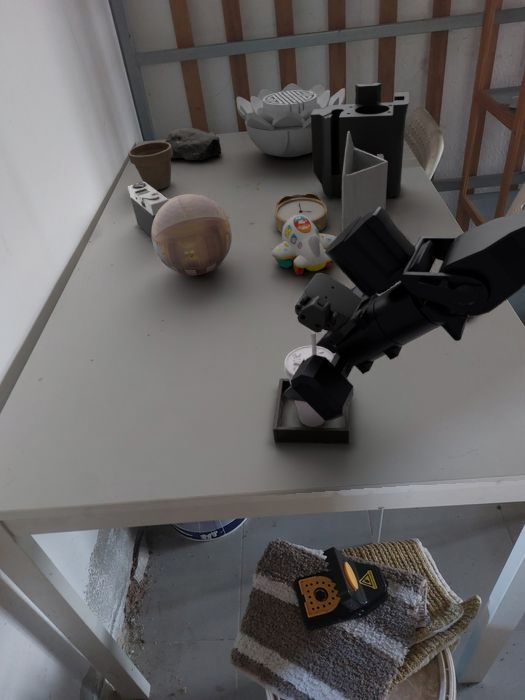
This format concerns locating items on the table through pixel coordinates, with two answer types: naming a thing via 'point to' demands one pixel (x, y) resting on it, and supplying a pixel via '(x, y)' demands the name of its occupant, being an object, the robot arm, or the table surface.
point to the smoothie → (291, 365)
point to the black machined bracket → (359, 136)
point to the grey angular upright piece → (362, 183)
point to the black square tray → (306, 433)
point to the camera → (146, 204)
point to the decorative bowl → (285, 118)
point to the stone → (193, 144)
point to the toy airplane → (303, 245)
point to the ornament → (191, 234)
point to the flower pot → (153, 163)
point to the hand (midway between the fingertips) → (300, 373)
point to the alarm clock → (301, 209)
